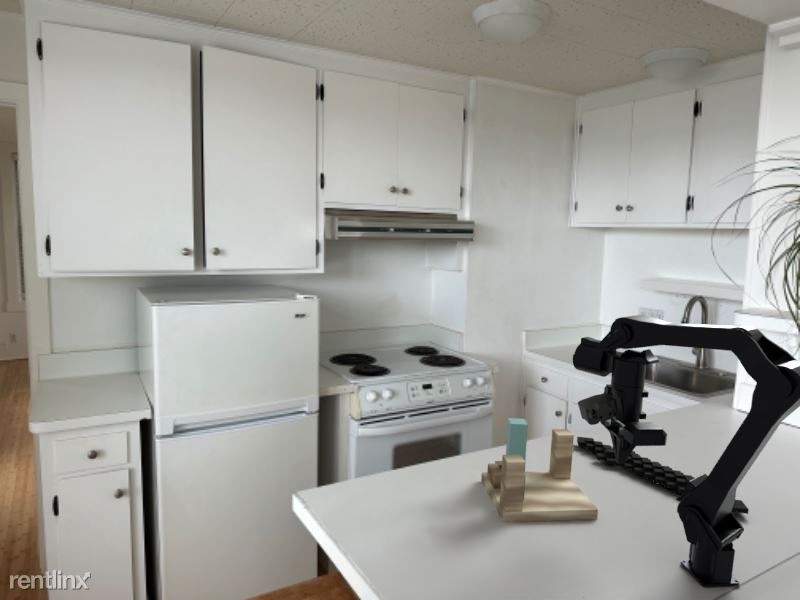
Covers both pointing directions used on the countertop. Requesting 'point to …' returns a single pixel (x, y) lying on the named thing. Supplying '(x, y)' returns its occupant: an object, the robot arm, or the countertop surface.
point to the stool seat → (538, 486)
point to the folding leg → (516, 437)
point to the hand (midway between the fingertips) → (620, 462)
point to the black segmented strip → (647, 468)
